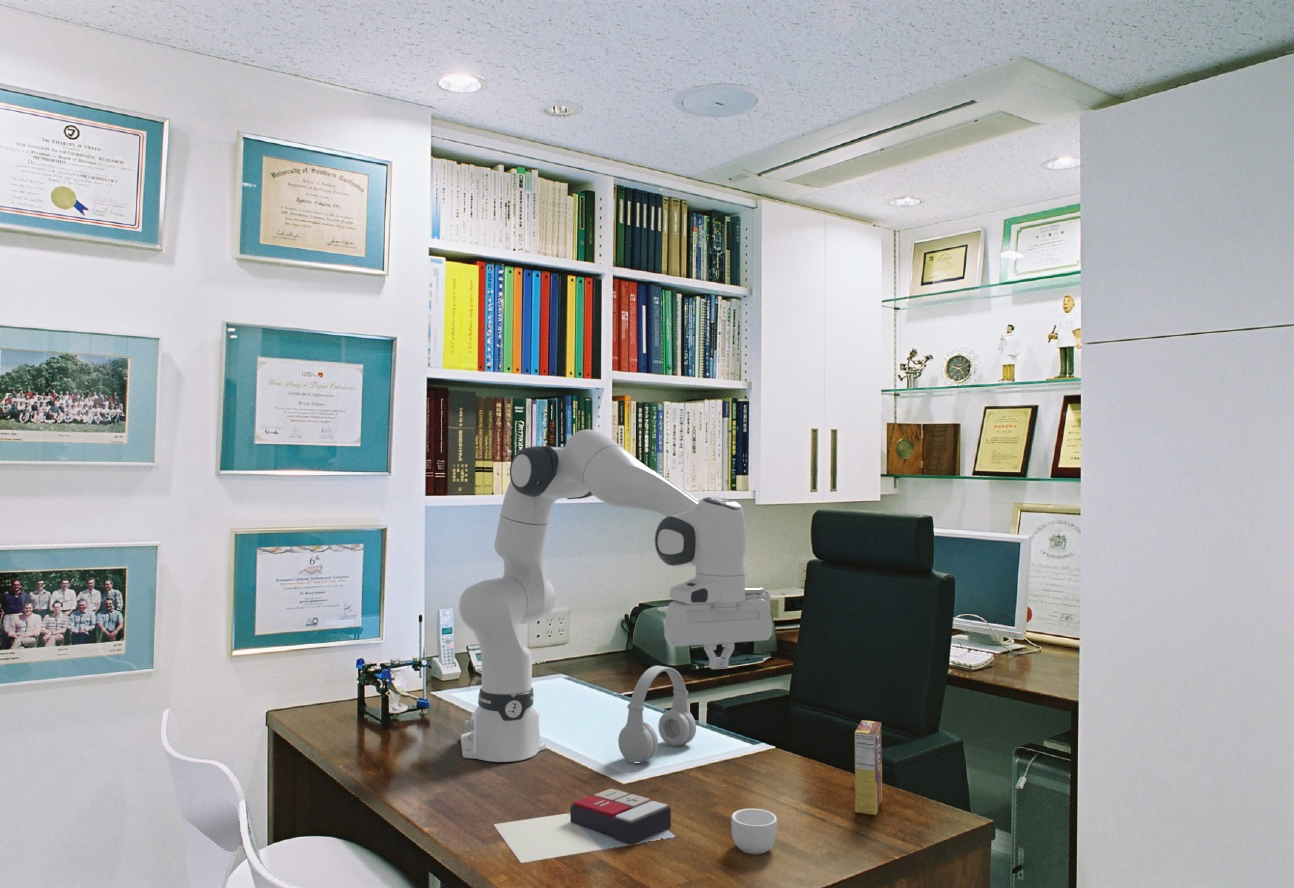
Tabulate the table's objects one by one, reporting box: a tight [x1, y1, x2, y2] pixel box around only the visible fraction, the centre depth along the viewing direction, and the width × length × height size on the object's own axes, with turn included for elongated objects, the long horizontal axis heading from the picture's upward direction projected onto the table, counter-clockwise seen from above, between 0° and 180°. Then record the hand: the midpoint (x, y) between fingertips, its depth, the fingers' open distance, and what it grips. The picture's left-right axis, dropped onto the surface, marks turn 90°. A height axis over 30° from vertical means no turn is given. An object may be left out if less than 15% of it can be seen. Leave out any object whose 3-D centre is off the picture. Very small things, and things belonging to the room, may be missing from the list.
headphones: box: [617, 665, 697, 763], centre depth 206 cm, size 20×8×19 cm, turn 144°
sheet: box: [493, 812, 676, 864], centre depth 161 cm, size 17×28×1 cm, turn 115°
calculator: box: [569, 788, 672, 845], centre depth 164 cm, size 11×4×15 cm
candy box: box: [854, 720, 883, 816], centre depth 176 cm, size 9×4×15 cm, turn 158°
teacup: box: [730, 808, 778, 855], centre depth 156 cm, size 10×8×5 cm
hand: (718, 668), depth 162 cm, fingers closed
